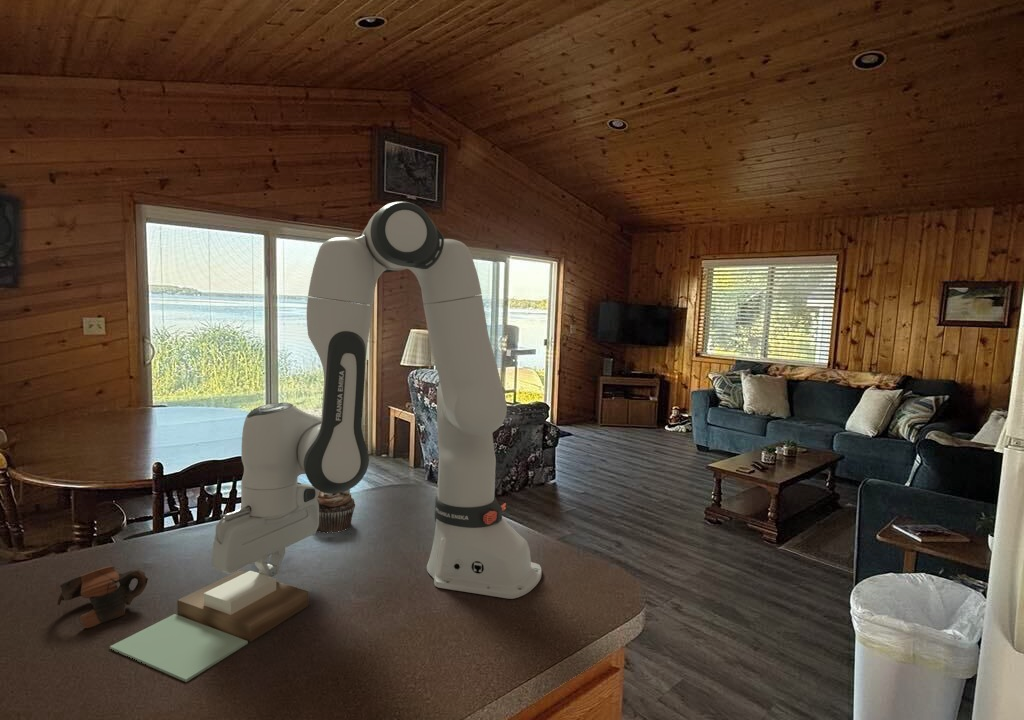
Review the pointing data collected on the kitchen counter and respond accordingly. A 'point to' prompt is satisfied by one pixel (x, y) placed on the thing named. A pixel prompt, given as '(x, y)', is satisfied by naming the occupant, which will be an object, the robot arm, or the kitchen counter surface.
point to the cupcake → (335, 511)
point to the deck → (245, 610)
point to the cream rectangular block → (239, 592)
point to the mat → (179, 647)
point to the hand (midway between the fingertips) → (269, 576)
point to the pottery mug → (104, 593)
